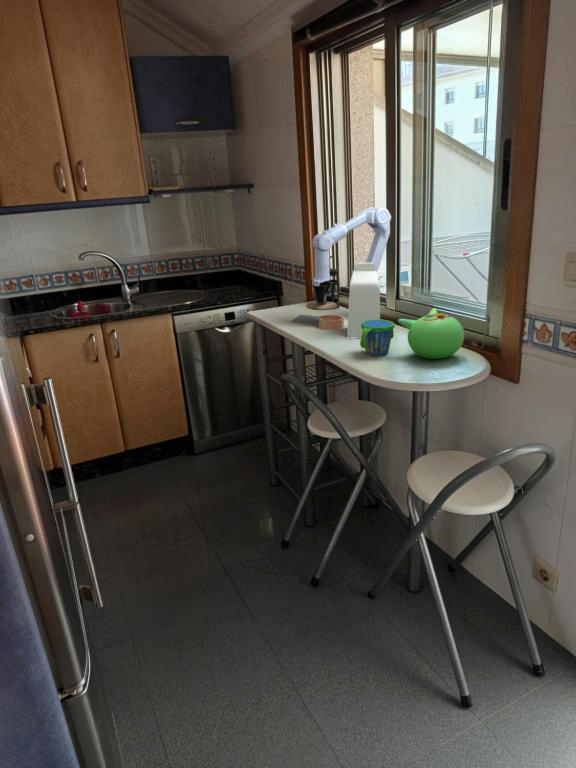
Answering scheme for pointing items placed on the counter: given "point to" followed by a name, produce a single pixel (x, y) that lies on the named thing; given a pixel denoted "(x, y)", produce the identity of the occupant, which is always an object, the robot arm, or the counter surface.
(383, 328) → the snack cup
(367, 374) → the counter surface
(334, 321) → the bowl
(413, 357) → the counter surface
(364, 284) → the milk
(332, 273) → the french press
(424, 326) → the green teapot
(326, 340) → the counter surface
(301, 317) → the mat
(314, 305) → the lid
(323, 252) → the robot arm
